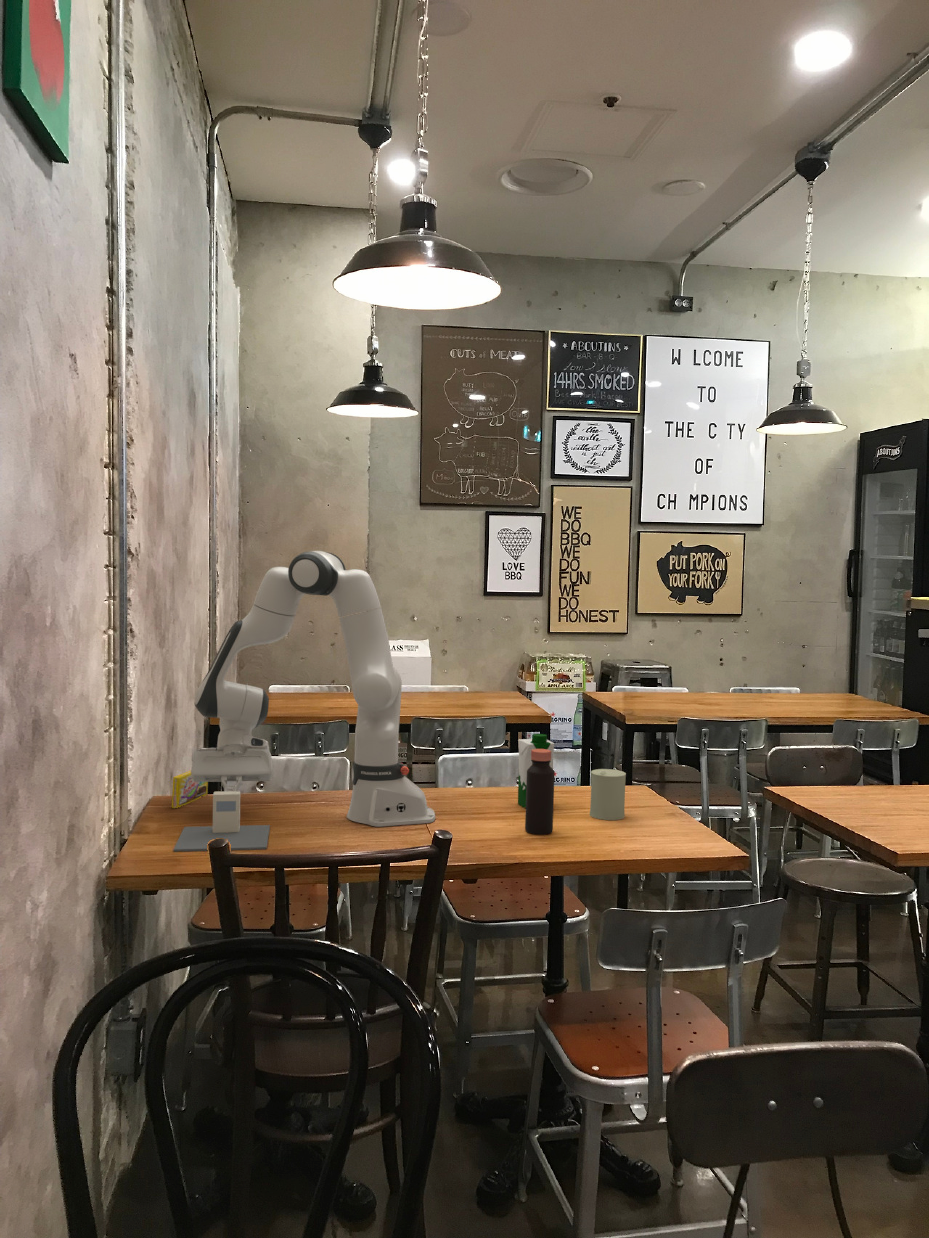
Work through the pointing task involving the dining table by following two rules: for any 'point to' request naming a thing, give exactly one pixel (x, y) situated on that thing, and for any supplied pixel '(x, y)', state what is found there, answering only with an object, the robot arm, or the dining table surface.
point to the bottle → (539, 794)
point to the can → (607, 794)
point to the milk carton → (525, 760)
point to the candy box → (187, 789)
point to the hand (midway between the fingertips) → (230, 794)
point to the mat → (242, 840)
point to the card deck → (226, 811)
